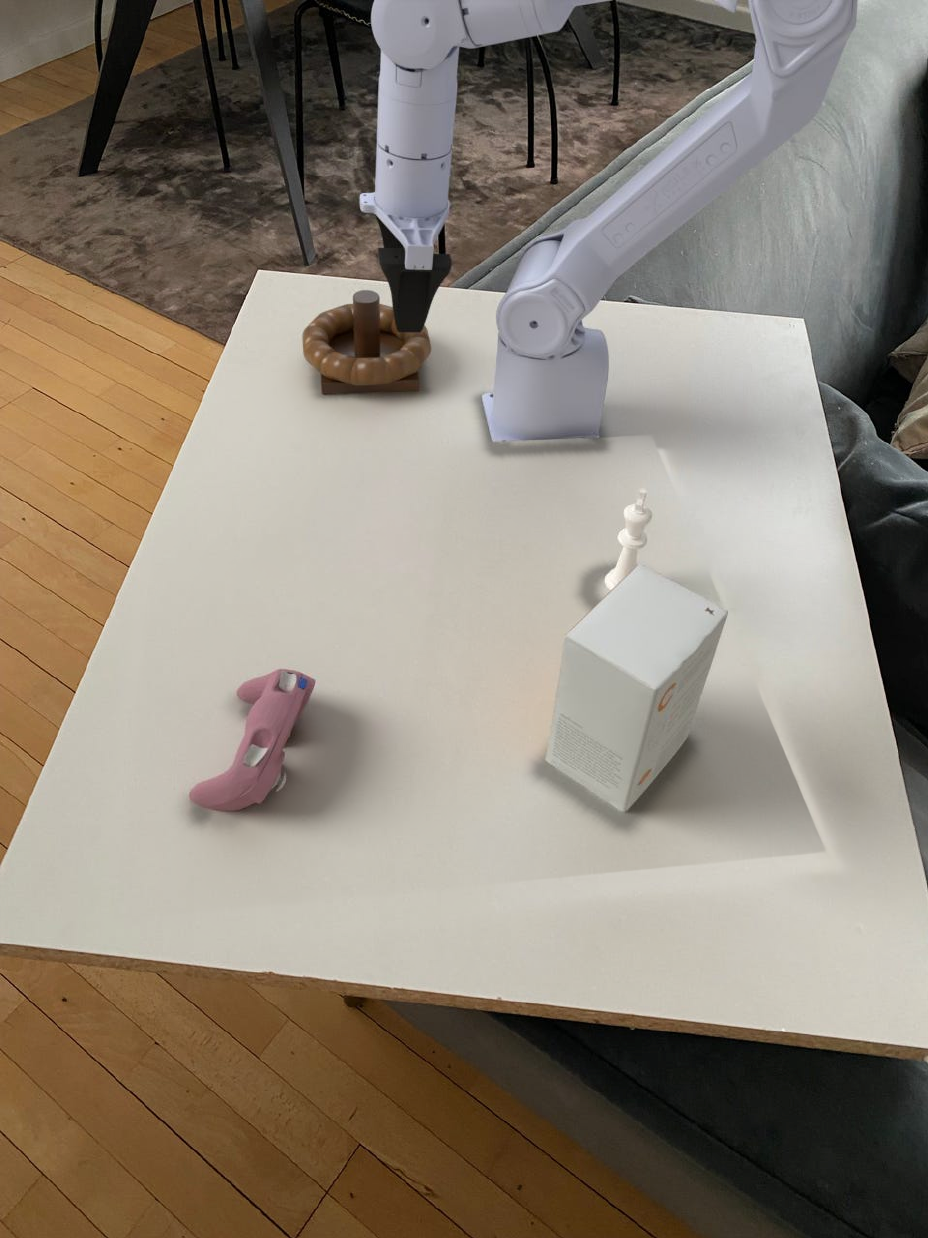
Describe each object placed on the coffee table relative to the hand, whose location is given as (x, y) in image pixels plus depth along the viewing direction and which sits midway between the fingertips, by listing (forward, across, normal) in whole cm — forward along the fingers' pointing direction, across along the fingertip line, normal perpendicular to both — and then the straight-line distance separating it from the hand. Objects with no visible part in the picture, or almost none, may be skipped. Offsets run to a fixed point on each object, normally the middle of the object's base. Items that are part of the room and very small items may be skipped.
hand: (404, 305), depth 89 cm
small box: (+8, +42, +10) cm, 44 cm away
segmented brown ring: (+7, -6, -3) cm, 10 cm away
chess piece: (+8, +27, +14) cm, 31 cm away
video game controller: (+10, +40, -12) cm, 43 cm away
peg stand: (+10, -5, -2) cm, 11 cm away
